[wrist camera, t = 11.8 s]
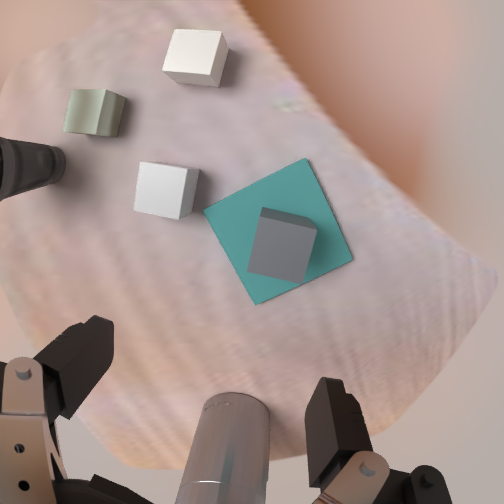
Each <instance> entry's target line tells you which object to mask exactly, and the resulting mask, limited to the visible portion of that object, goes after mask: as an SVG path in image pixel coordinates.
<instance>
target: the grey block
mask: <svg viewBox="0 0 504 504" xmlns="http://www.w3.org/2000/svg"><path fill="white" fill-rule="evenodd" d="M199 170H200V169H198V168H192V167H186V166H180V165H174V164H168V163H162V162H140V168H139V174H138V180H137V187H136V194H135V201H134V209H133V210H134V211H139V212H143V213H148V214H153V215H158V216H163V217H167V218H172V219H177V220H179V219H181V218H183V217H185V216H187V215H188V214H190V213H192V208H193V203H194V197H195V192H196V186H197V181H198V176H199Z"/></svg>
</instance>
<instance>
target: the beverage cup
mask: <svg viewBox="0 0 504 504" xmlns="http://www.w3.org/2000/svg"><path fill="white" fill-rule="evenodd" d="M64 169H65V158H64V154H63V152H62V151H61V150H60V149H59V148H57V147H52V146H49V145H44V144H38V143H31V142H25V141H18V140H10V139H6V138H2V137H0V201H2V200H3V199H5V198H8V197H11V196H14V195H17V194H20V193H23V192H27V191H30V190H33V189H36V188H40V187H43V186H47V185H48V184H51V183H55V182H57V181H58V180H59V179H60V178H61V177H62V175H63V172H64Z"/></svg>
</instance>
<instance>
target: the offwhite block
mask: <svg viewBox="0 0 504 504" xmlns="http://www.w3.org/2000/svg"><path fill="white" fill-rule="evenodd" d="M228 51H229V48H228V46H227V43H226V41H225V38H224V36H223V33H222V32H219V31H206V30H187V29H175V30H174V33H173V36H172V39H171V42H170V45H169V49H168V52H167V55H166V58H165V62H164V65H163V69H162V71H163V72H164V73H165V74H166V75H168V76H169V77H170V78H171V79H173V80H174V81H175V82H176V83H184V84H194V85H203V86H211V87H218V88H219V85H220V81H221V77H222V73H223V69H224V65H225V62H226V58H227V54H228Z"/></svg>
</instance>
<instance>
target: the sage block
mask: <svg viewBox="0 0 504 504" xmlns="http://www.w3.org/2000/svg"><path fill="white" fill-rule="evenodd" d="M125 100H126V98H125V97H123V96H121V95H118V94H116V93H113V92H111V91H108V90H104V89H87V90H72V91H71V95H70V99H69V103H68V108H67V112H66V117H65V122H64V127H63V132H69V133H78V134H88V135H99V136H109V137H117V135H118V130H119V126H120V121H121V116H122V112H123V108H124V104H125Z"/></svg>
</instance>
